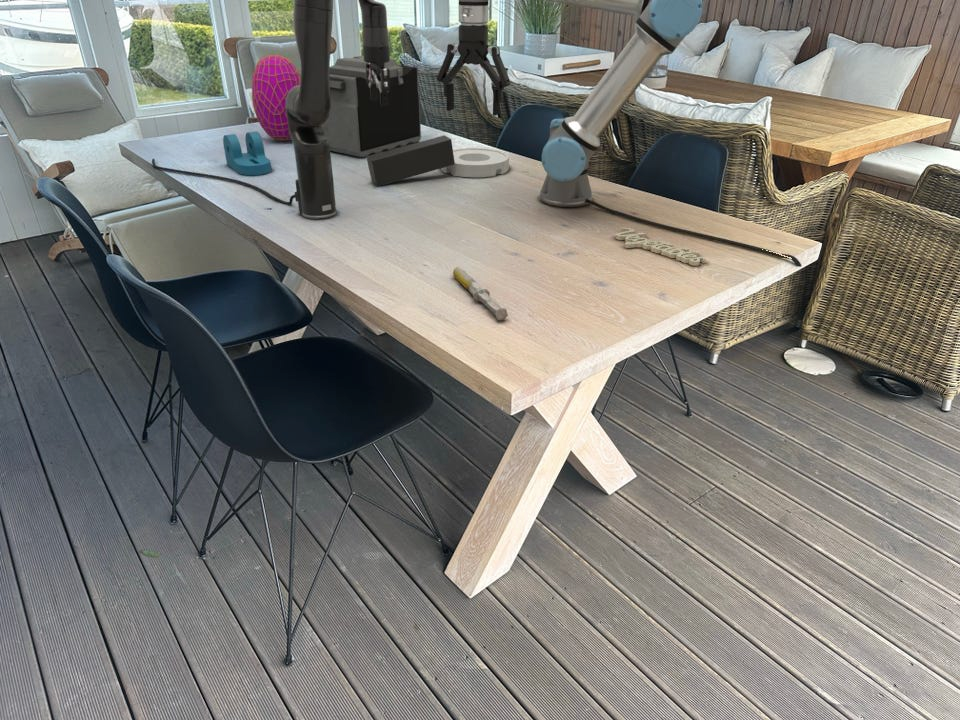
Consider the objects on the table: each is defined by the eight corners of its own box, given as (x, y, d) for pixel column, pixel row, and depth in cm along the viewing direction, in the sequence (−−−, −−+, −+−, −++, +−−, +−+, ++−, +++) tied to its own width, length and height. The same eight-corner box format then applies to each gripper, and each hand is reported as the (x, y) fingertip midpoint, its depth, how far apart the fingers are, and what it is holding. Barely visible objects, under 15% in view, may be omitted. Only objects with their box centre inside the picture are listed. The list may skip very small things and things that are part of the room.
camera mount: (227, 164, 233) (221, 132, 227) (257, 160, 238) (252, 129, 233) (244, 176, 220) (239, 143, 215) (276, 172, 225) (271, 139, 220)
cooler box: (383, 133, 276) (378, 52, 261) (425, 141, 265) (422, 56, 250) (314, 150, 251) (304, 61, 235) (358, 160, 240) (350, 67, 224)
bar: (448, 159, 225) (444, 135, 220) (455, 164, 221) (451, 139, 216) (371, 181, 217) (366, 156, 213) (377, 186, 213) (371, 161, 208)
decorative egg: (293, 132, 276) (283, 50, 261) (319, 140, 264) (310, 56, 249) (249, 139, 265) (236, 54, 250) (273, 148, 253) (261, 60, 238)
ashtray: (443, 158, 243) (443, 147, 241) (508, 159, 242) (508, 148, 240) (437, 176, 223) (437, 164, 221) (508, 178, 222) (509, 165, 220)
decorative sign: (601, 235, 175) (625, 226, 181) (600, 238, 175) (625, 230, 181) (689, 266, 158) (713, 255, 164) (689, 269, 158) (713, 259, 164)
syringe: (449, 274, 155) (449, 263, 153) (465, 272, 156) (464, 260, 154) (490, 323, 135) (491, 310, 133) (508, 319, 136) (508, 307, 134)
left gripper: (355, 41, 200) (359, 100, 208) (371, 47, 189) (375, 108, 197) (379, 40, 203) (383, 98, 211) (397, 45, 192) (399, 106, 200)
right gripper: (422, 22, 174) (425, 110, 185) (513, 27, 165) (510, 119, 176) (436, 20, 180) (438, 105, 191) (524, 25, 171) (521, 114, 182)
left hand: (379, 103), depth 204 cm, fingers open, 8 cm apart
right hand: (472, 112), depth 183 cm, fingers open, 13 cm apart
